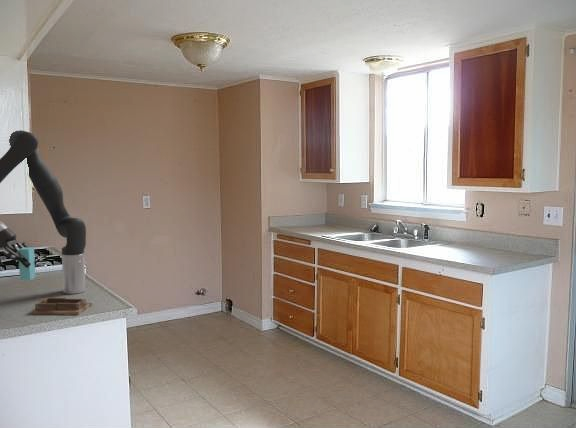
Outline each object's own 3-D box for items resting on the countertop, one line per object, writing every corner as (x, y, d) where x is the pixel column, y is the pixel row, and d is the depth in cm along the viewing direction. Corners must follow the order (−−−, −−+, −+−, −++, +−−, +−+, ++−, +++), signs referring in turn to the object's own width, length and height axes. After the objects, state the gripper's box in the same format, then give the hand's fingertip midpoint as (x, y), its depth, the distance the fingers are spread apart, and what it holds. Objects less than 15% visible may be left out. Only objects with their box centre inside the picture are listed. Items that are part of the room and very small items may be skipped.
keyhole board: (47, 304, 210) (47, 296, 210) (91, 305, 210) (91, 296, 210) (31, 314, 198) (31, 305, 197) (78, 314, 197) (77, 305, 197)
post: (25, 277, 205) (23, 247, 204) (35, 277, 205) (33, 247, 204) (19, 279, 201) (18, 249, 200) (30, 280, 201) (28, 249, 200)
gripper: (-5, 229, 194) (29, 262, 195) (16, 224, 208) (47, 254, 209) (-18, 243, 195) (15, 275, 196) (4, 237, 209) (35, 267, 210)
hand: (32, 264), depth 202 cm, fingers closed on post, 4 cm apart
